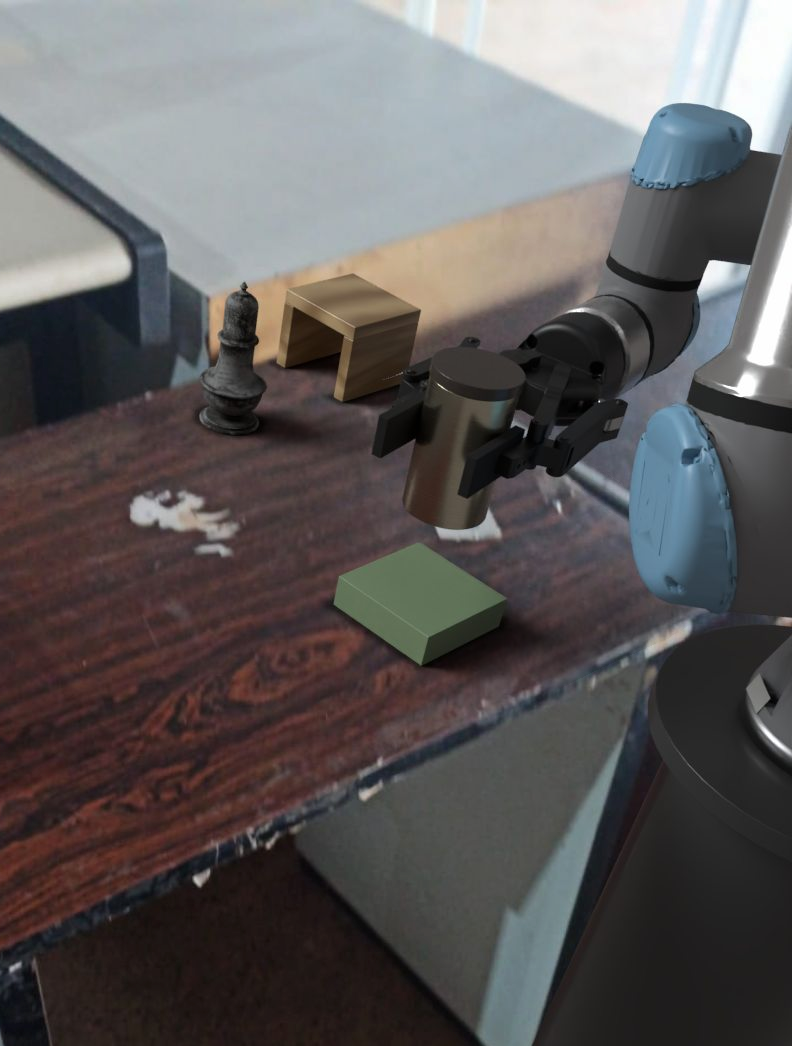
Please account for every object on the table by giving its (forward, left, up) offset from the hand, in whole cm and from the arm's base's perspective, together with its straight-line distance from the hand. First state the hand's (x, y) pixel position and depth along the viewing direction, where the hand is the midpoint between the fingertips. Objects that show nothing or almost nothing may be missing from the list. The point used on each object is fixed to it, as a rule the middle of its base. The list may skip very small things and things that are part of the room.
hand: (423, 456), depth 83 cm
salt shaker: (+31, -13, -15) cm, 37 cm away
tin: (+1, -5, -6) cm, 8 cm away
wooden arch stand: (+33, -30, -15) cm, 47 cm away
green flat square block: (+1, -5, -15) cm, 16 cm away
